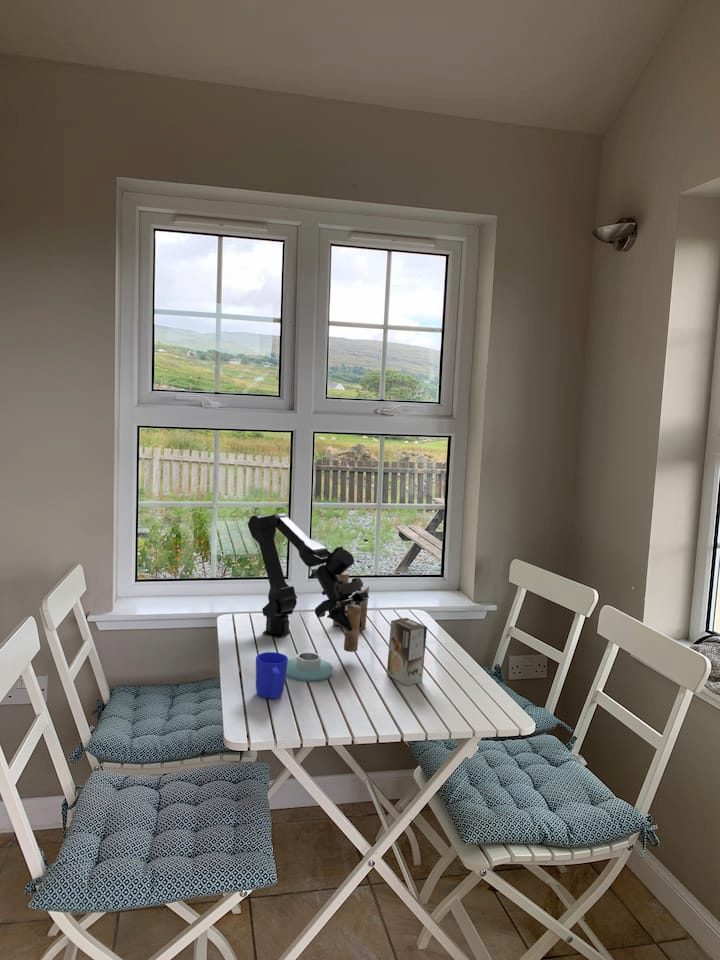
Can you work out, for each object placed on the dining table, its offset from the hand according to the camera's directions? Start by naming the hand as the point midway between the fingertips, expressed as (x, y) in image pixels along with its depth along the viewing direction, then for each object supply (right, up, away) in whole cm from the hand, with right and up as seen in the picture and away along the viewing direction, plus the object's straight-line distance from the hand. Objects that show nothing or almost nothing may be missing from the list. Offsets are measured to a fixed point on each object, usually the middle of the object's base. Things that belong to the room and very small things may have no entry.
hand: (356, 629), depth 218 cm
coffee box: (+14, -13, -6) cm, 20 cm away
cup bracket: (-14, -10, -8) cm, 19 cm away
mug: (-22, -12, -27) cm, 37 cm away
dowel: (-2, -6, +2) cm, 7 cm away
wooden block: (-2, -6, +35) cm, 35 cm away
